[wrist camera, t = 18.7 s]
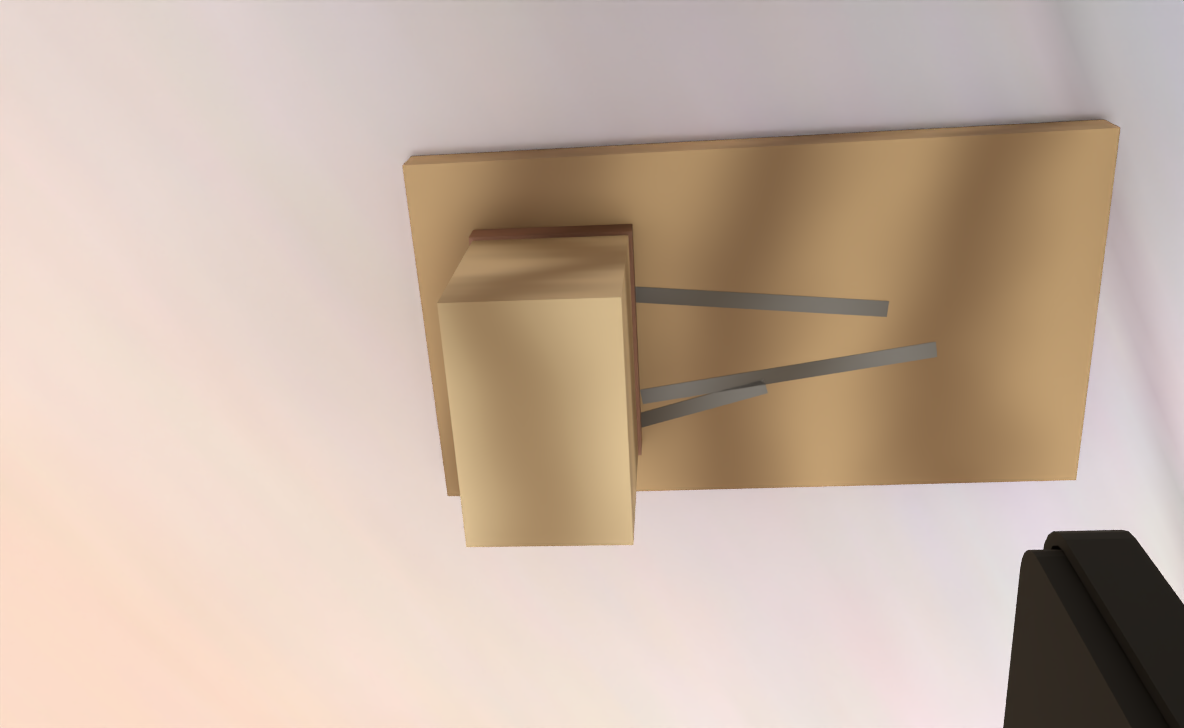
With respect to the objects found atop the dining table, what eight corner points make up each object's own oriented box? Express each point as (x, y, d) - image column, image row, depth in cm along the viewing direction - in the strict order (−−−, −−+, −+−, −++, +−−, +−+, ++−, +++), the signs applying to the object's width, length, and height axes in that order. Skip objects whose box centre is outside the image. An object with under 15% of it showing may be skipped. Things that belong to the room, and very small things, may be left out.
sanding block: (632, 223, 31) (624, 293, 26) (642, 443, 34) (637, 548, 29) (473, 229, 32) (432, 299, 26) (495, 446, 35) (463, 550, 29)
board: (1104, 119, 31) (1120, 128, 29) (1063, 461, 35) (1076, 480, 34) (411, 156, 32) (402, 165, 31) (454, 478, 37) (447, 496, 35)
